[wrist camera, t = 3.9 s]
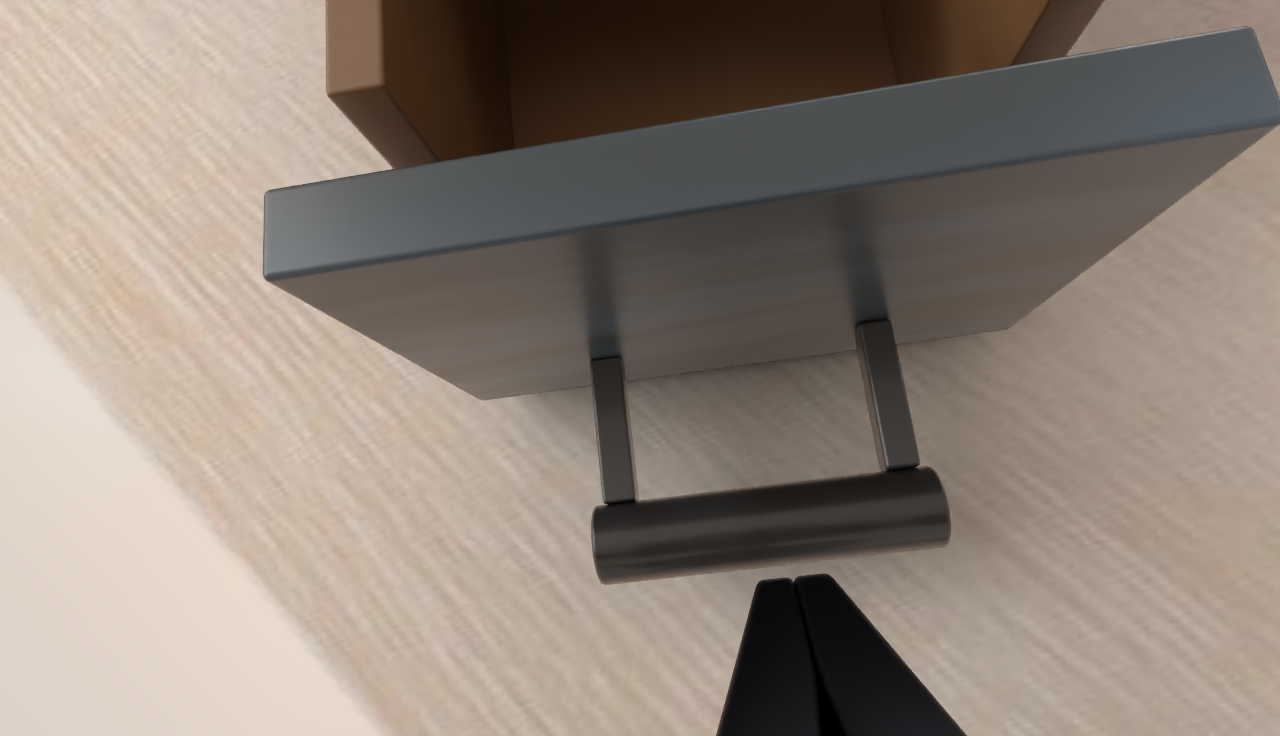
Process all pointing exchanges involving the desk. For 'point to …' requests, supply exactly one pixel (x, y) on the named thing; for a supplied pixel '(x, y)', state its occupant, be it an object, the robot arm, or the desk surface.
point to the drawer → (739, 211)
